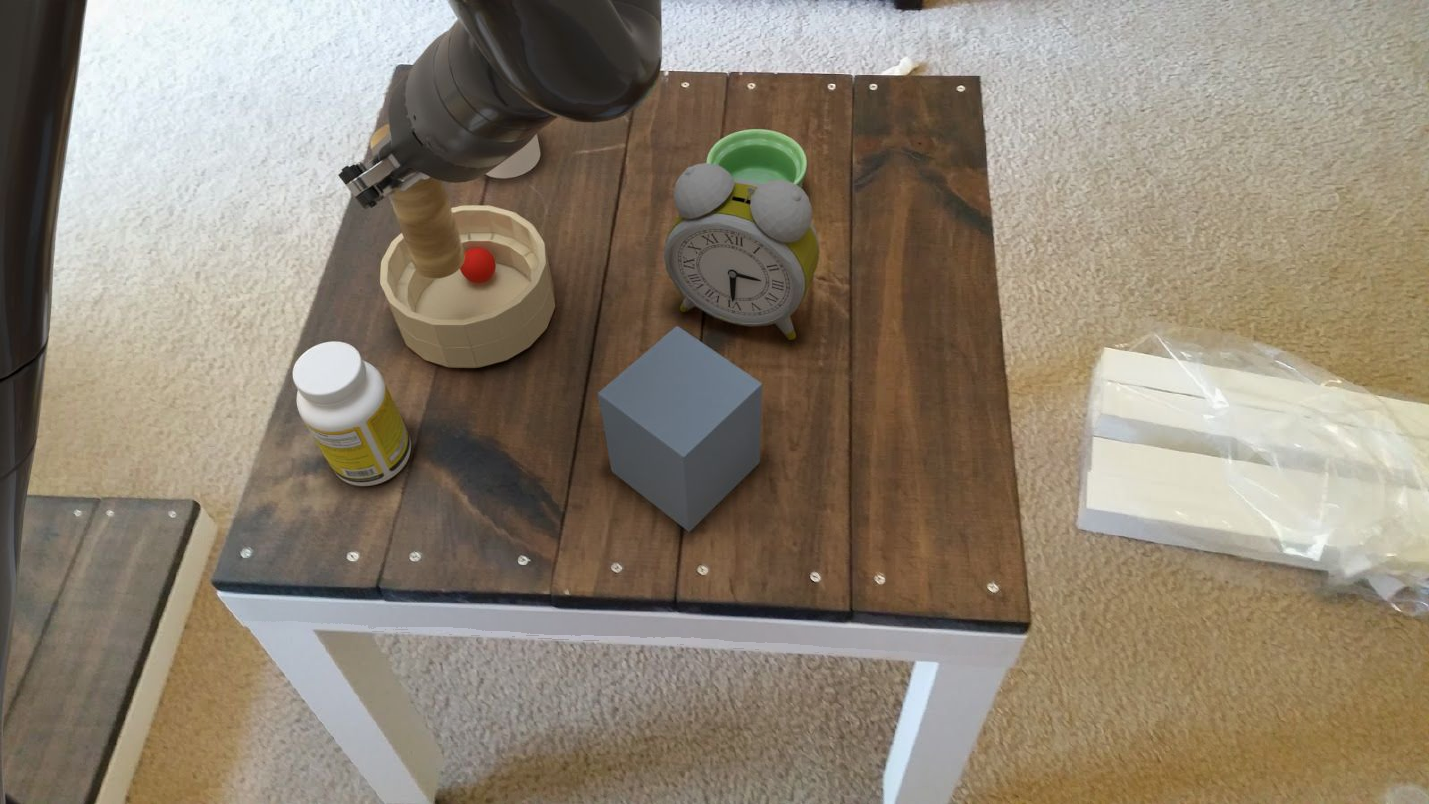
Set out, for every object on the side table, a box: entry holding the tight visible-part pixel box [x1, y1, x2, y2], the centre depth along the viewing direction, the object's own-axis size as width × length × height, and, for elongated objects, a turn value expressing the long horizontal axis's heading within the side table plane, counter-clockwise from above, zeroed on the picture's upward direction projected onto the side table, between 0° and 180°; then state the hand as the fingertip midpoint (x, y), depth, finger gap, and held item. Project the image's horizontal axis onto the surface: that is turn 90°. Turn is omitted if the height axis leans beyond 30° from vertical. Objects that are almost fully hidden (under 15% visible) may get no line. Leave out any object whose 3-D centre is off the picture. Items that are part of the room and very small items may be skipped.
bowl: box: [379, 204, 556, 369], centre depth 87 cm, size 13×13×6 cm
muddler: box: [369, 123, 465, 278], centre depth 77 cm, size 4×4×12 cm
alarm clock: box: [663, 162, 821, 341], centre depth 83 cm, size 12×7×15 cm, turn 70°
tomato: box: [460, 247, 496, 283], centre depth 90 cm, size 3×3×3 cm
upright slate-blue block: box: [597, 325, 763, 533], centre depth 76 cm, size 8×8×10 cm
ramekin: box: [706, 128, 808, 189], centre depth 95 cm, size 9×9×4 cm
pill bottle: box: [292, 341, 412, 487], centre depth 76 cm, size 6×6×11 cm
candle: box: [485, 133, 541, 179], centre depth 95 cm, size 6×6×15 cm
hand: (396, 170), depth 76 cm, fingers closed on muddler, 4 cm apart
